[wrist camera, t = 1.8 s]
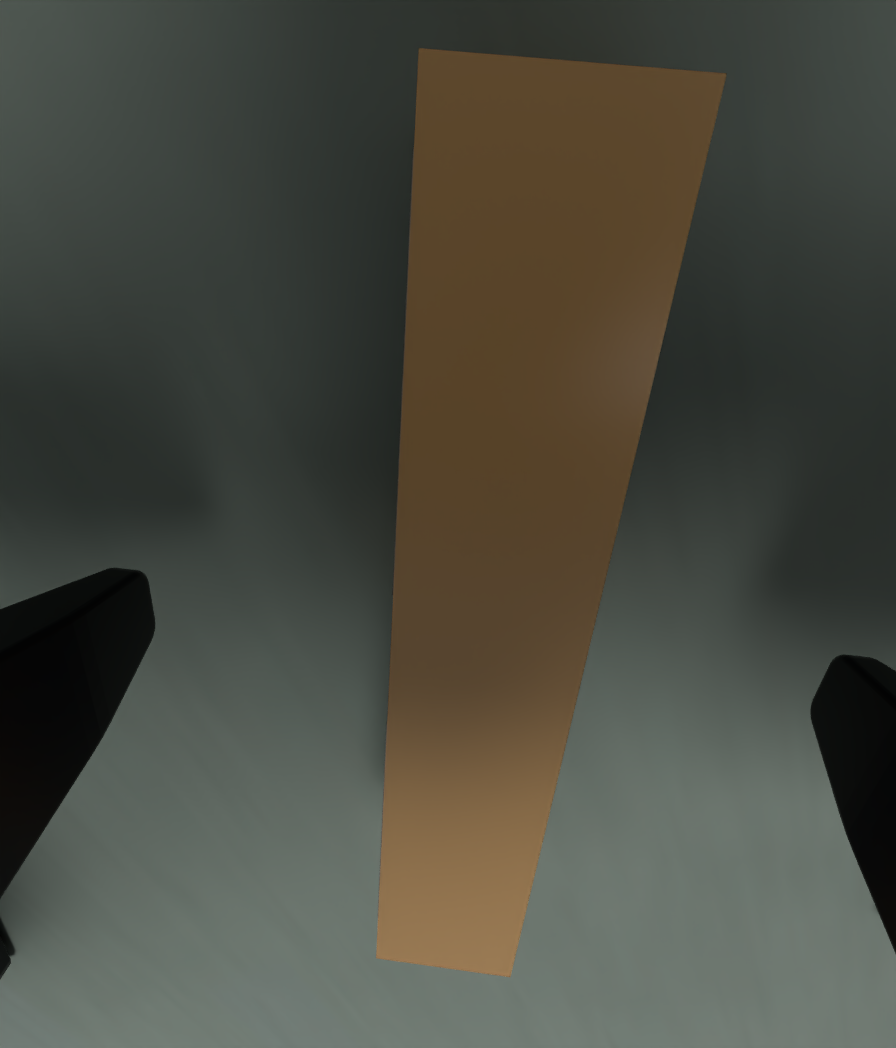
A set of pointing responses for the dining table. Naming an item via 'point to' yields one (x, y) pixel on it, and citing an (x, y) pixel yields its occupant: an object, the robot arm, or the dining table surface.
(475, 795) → the tan wooden bar
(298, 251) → the dining table surface
